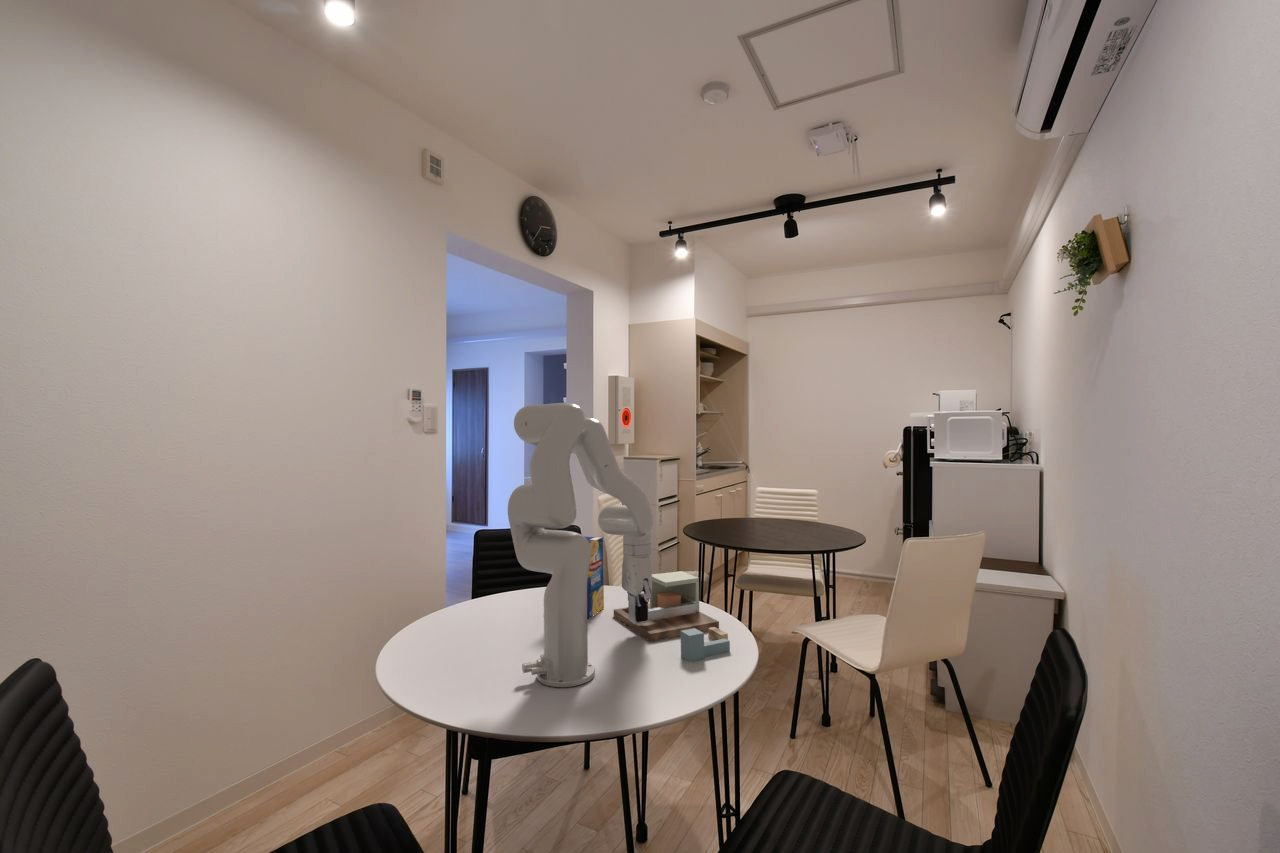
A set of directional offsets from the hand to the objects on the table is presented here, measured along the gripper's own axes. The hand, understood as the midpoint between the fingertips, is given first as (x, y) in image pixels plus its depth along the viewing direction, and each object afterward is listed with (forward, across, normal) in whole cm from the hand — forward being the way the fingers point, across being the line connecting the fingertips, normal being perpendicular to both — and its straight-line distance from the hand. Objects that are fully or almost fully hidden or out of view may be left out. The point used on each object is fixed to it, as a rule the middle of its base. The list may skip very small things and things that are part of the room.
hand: (638, 617), depth 149 cm
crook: (+1, -3, +8) cm, 9 cm away
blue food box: (+5, -24, -6) cm, 25 cm away
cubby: (+2, -8, +16) cm, 18 cm away
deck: (+4, -6, +11) cm, 13 cm away
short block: (+5, +13, +16) cm, 22 cm away
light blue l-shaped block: (+4, +21, +8) cm, 23 cm away
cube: (+2, -8, +14) cm, 16 cm away
